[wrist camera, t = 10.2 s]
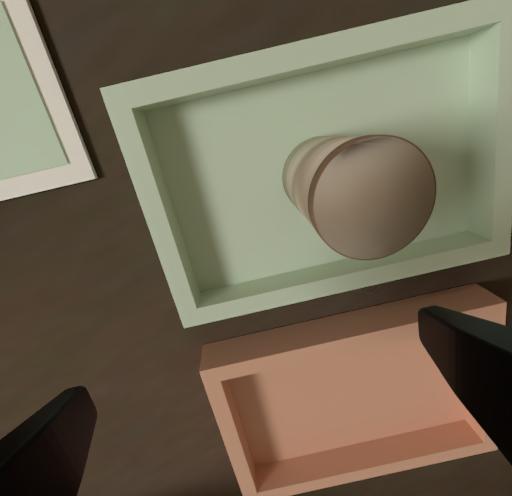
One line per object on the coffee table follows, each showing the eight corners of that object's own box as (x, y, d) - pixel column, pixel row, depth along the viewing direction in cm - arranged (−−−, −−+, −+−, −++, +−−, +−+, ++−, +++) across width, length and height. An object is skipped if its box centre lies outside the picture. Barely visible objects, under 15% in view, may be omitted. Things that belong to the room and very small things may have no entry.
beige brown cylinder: (361, 204, 18) (437, 245, 11) (288, 220, 18) (321, 271, 11) (353, 126, 16) (435, 120, 10) (274, 144, 16) (302, 151, 10)
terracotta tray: (472, 419, 24) (497, 449, 22) (244, 470, 25) (246, 505, 22) (475, 282, 20) (506, 301, 18) (203, 344, 21) (199, 371, 18)
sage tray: (476, 239, 19) (509, 253, 17) (190, 305, 20) (183, 328, 17) (481, 9, 15) (526, -14, 13) (120, 95, 16) (99, 88, 13)
